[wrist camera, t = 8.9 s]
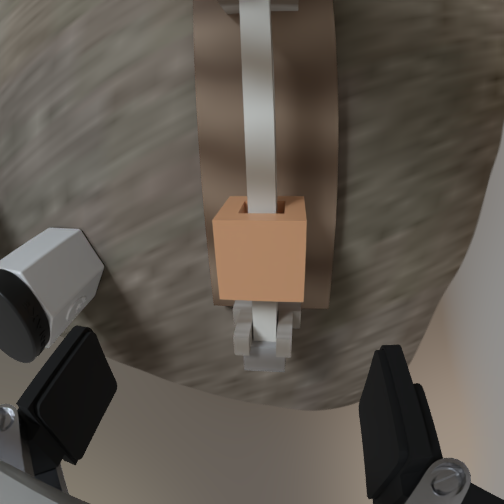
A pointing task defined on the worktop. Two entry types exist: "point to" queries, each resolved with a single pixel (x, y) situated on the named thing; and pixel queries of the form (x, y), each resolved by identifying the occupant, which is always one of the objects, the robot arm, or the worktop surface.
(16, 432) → the robot arm
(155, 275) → the worktop surface
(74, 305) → the jar
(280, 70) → the cube slider rail
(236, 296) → the sleeve
